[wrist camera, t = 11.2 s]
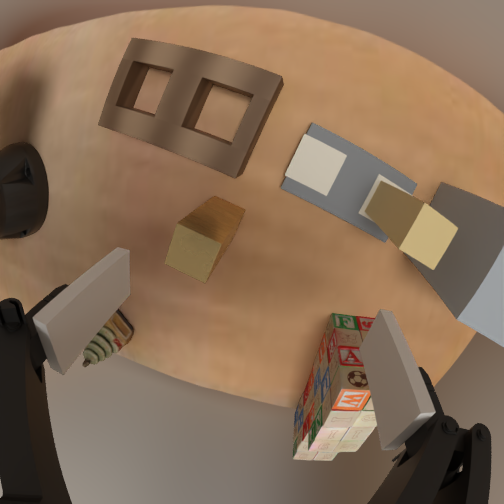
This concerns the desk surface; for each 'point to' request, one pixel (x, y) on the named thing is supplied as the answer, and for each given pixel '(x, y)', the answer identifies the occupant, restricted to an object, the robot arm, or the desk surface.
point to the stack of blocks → (336, 394)
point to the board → (367, 195)
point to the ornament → (108, 339)
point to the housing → (471, 261)
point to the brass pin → (203, 238)
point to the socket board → (189, 102)
